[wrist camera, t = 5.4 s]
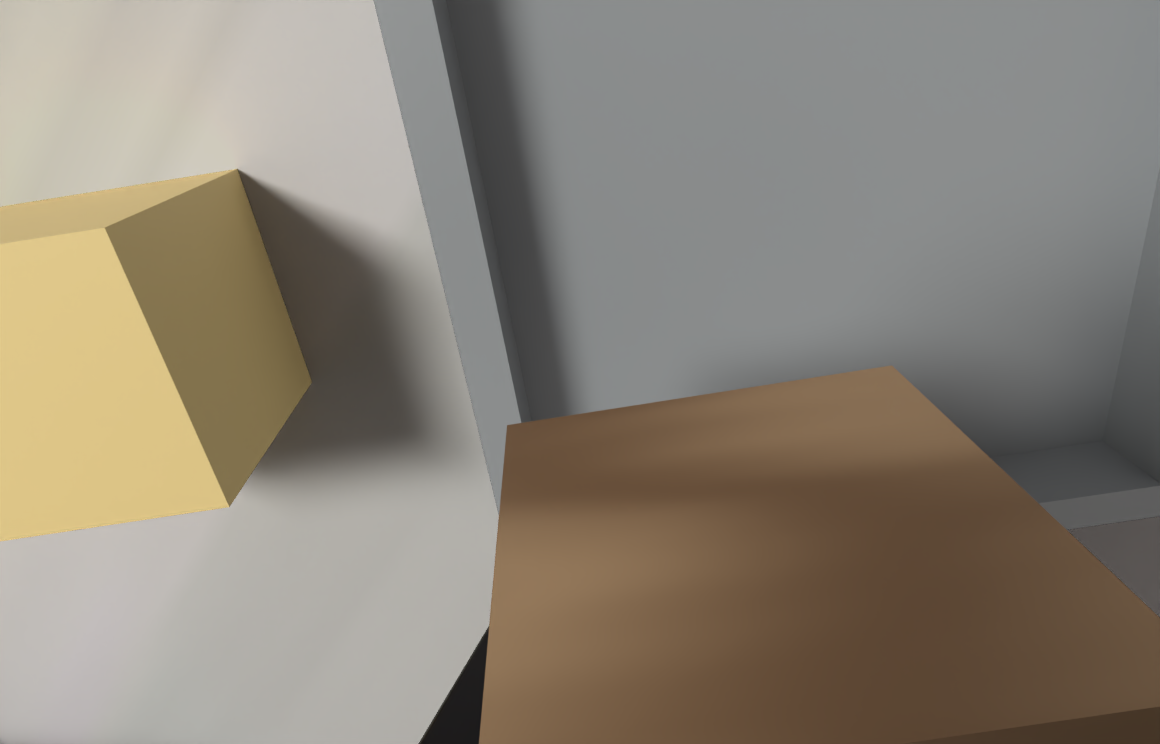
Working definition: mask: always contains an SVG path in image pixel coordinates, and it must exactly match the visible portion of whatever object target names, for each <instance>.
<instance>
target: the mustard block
mask: <svg viewBox="0 0 1160 744" xmlns="http://www.w3.org/2000/svg"><path fill="white" fill-rule="evenodd" d="M311 383H312V381H311V378H310V375H309V372H308V369H307V367H306V364H305V361H304V358H303V355H302V352H301V349H300V347H299V344H298V341H297V338H296V335H295V332H294V329H293V327H292V324H291V321H290V318H289V315H288V312H287V309H286V307H285V304H284V301H283V298H282V295H281V292H280V289H279V287H278V284H277V281H276V278H275V275H274V272H273V269H272V267H271V264H270V261H269V258H268V255H267V252H266V249H265V247H264V244H263V241H262V238H261V235H260V232H259V229H258V227H257V224H256V221H255V218H254V215H253V212H252V209H251V207H250V204H249V201H248V198H247V195H246V192H245V189H244V187H243V184H242V181H241V178H240V175H239V172H238V169H234V170H228V171H222V172H215V173H209V174H203V175H196V176H190V177H184V178H178V179H171V180H165V181H159V182H152V183H146V184H140V185H134V186H127V187H121V188H115V189H109V190H102V191H96V192H90V193H83V194H77V195H71V196H65V197H58V198H52V199H46V200H40V201H33V202H27V203H21V204H14V205H8V206H2V207H0V541H6V540H12V539H19V538H26V537H32V536H39V535H46V534H52V533H59V532H66V531H73V530H79V529H86V528H93V527H99V526H106V525H113V524H119V523H126V522H133V521H139V520H146V519H153V518H159V517H166V516H173V515H179V514H186V513H193V512H199V511H206V510H213V509H219V508H226V507H230V505H231V504H232V502H233V501H234V499H235V498H236V496H237V495H238V493H239V492H240V490H241V489H242V487H243V486H244V484H245V483H246V481H247V480H248V478H249V477H250V475H251V473H252V472H253V470H254V469H255V467H256V466H257V464H258V463H259V461H260V460H261V458H262V457H263V455H264V454H265V452H266V451H267V449H268V448H269V446H270V445H271V443H272V442H273V440H274V439H275V437H276V436H277V434H278V433H279V431H280V430H281V428H282V427H283V425H284V424H285V422H286V421H287V419H288V418H289V416H290V415H291V413H292V412H293V410H294V409H295V407H296V406H297V404H298V403H299V401H300V400H301V398H302V397H303V395H304V394H305V392H306V391H307V389H308V387H309V386H310V384H311Z"/></svg>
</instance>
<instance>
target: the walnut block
mask: <svg viewBox="0 0 1160 744" xmlns="http://www.w3.org/2000/svg"><path fill="white" fill-rule="evenodd" d="M479 744H1160V617H1159V616H1157V615H1156V614H1155V613H1154V612H1153V611H1152V610H1151V609H1150V608H1149V607H1148V606H1147V605H1146V604H1145V603H1144V602H1143V601H1142V600H1141V599H1139V598H1138V597H1137V596H1136V595H1135V594H1134V593H1133V592H1132V591H1131V590H1130V589H1129V588H1128V587H1127V586H1126V585H1125V584H1124V583H1122V582H1121V581H1120V580H1119V579H1118V578H1117V577H1116V576H1115V575H1114V574H1113V573H1112V572H1111V571H1110V570H1109V569H1108V568H1107V567H1105V566H1104V565H1103V564H1102V563H1101V562H1100V561H1099V560H1098V559H1097V558H1096V557H1095V556H1094V555H1093V554H1092V553H1091V552H1090V551H1088V550H1087V549H1086V548H1085V547H1084V546H1083V545H1082V544H1081V543H1080V542H1079V541H1078V540H1077V539H1076V538H1075V537H1074V536H1073V535H1072V534H1070V533H1069V532H1068V531H1067V530H1066V529H1065V528H1064V527H1063V526H1062V525H1061V524H1060V523H1059V522H1058V521H1057V520H1056V519H1055V518H1053V517H1052V516H1051V515H1050V514H1049V513H1048V512H1047V511H1046V510H1045V509H1044V508H1043V507H1042V506H1041V505H1040V504H1039V503H1038V502H1036V501H1035V500H1034V499H1033V498H1032V497H1031V496H1030V495H1029V494H1028V493H1027V492H1026V491H1025V490H1024V489H1023V488H1022V487H1021V486H1019V485H1018V484H1017V483H1016V482H1015V481H1014V480H1013V479H1012V478H1011V477H1010V476H1009V475H1008V474H1007V473H1006V472H1005V471H1004V470H1003V469H1001V468H1000V467H999V466H998V465H997V464H996V463H995V462H994V461H993V460H992V459H991V458H990V457H989V456H988V455H987V454H986V453H984V452H983V451H982V450H981V449H980V448H979V447H978V446H977V445H976V444H975V443H974V442H973V441H972V440H971V439H970V438H969V437H967V436H966V435H965V434H964V433H963V432H962V431H961V430H960V429H959V428H958V427H957V426H956V425H955V424H954V423H953V422H952V421H951V420H949V419H948V418H947V417H946V416H945V415H944V414H943V413H942V412H941V411H940V410H939V409H938V408H937V407H936V406H935V405H934V404H932V403H931V402H930V401H929V400H928V399H927V398H926V397H925V396H924V395H923V394H922V393H921V392H920V391H919V390H918V389H917V388H915V387H914V386H913V385H912V384H911V383H910V382H909V381H908V380H907V379H906V378H905V377H904V376H903V375H902V374H901V373H900V372H898V371H897V370H896V369H895V368H894V367H893V366H892V365H891V366H885V367H878V368H872V369H865V370H859V371H853V372H846V373H840V374H833V375H827V376H820V377H814V378H807V379H801V380H795V381H788V382H782V383H775V384H769V385H762V386H756V387H749V388H743V389H737V390H730V391H724V392H717V393H711V394H704V395H698V396H691V397H685V398H679V399H672V400H666V401H659V402H653V403H646V404H640V405H633V406H627V407H621V408H614V409H608V410H601V411H595V412H588V413H582V414H575V415H569V416H562V417H556V418H550V419H543V420H537V421H530V422H524V423H517V424H511V425H507V431H506V442H505V454H504V465H503V476H502V488H501V499H500V510H499V522H498V533H497V544H496V556H495V567H494V578H493V590H492V601H491V612H490V624H489V635H488V646H487V658H486V669H485V680H484V692H483V703H482V714H481V726H480V737H479Z"/></svg>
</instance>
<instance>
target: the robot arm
mask: <svg viewBox="0 0 1160 744" xmlns="http://www.w3.org/2000/svg"><path fill="white" fill-rule="evenodd" d="M488 635H489V627H488V628H487V630H486V632H485V634H484V635H483V637H482V639H481V640H480V642H479V644H478V645H477V647H476V649H475V650H474V652H473V654H472V655H471V657H470V659H469V660H468V662H467V664H466V665H465V667H464V669H463V670H462V672H461V674H460V675H459V677H458V679H457V680H456V682H455V684H454V685H453V687H452V689H451V690H450V692H449V694H448V695H447V697H446V699H445V700H444V702H443V704H442V705H441V707H440V709H439V710H438V712H437V714H436V715H435V717H434V719H433V720H432V722H431V724H430V725H429V727H428V729H427V730H426V732H425V734H424V735H423V737H422V739H421V741H420V742H419V744H479V737H480V726H481V714H482V703H483V692H484V680H485V669H486V658H487V646H488Z"/></svg>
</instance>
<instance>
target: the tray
mask: <svg viewBox="0 0 1160 744" xmlns="http://www.w3.org/2000/svg"><path fill="white" fill-rule="evenodd" d="M374 4H375V8H376V12H377V16H378V20H379V25H380V29H381V33H382V37H383V41H384V45H385V49H386V53H387V57H388V62H389V66H390V70H391V74H392V78H393V82H394V86H395V90H396V94H397V99H398V103H399V107H400V111H401V115H402V119H403V123H404V127H405V131H406V136H407V140H408V144H409V148H410V152H411V156H412V160H413V164H414V168H415V173H416V177H417V181H418V185H419V189H420V193H421V197H422V201H423V205H424V210H425V214H426V218H427V222H428V226H429V230H430V234H431V238H432V242H433V247H434V251H435V255H436V259H437V263H438V267H439V271H440V275H441V279H442V284H443V288H444V292H445V296H446V300H447V304H448V308H449V312H450V316H451V321H452V325H453V329H454V333H455V337H456V341H457V345H458V349H459V353H460V358H461V362H462V366H463V370H464V374H465V378H466V382H467V386H468V390H469V395H470V399H471V403H472V407H473V411H474V415H475V419H476V423H477V427H478V432H479V436H480V440H481V444H482V448H483V452H484V456H485V460H486V464H487V469H488V473H489V477H490V481H491V485H492V489H493V493H494V497H495V501H496V506H497V510H498V514H499V510H500V499H501V488H502V476H503V465H504V454H505V442H506V431H507V425H511V424H517V423H524V422H530V421H537V420H543V419H550V418H556V417H562V416H569V415H575V414H582V413H588V412H595V411H601V410H608V409H614V408H621V407H627V406H633V405H640V404H646V403H653V402H659V401H666V400H672V399H679V398H685V397H691V396H698V395H704V394H711V393H717V392H724V391H730V390H737V389H743V388H749V387H756V386H762V385H769V384H775V383H782V382H788V381H795V380H801V379H807V378H814V377H820V376H827V375H833V374H840V373H846V372H853V371H859V370H865V369H872V368H878V367H885V366H891V365H892V366H893V367H894V368H895V369H896V370H897V371H898V372H900V373H901V374H902V375H903V376H904V377H905V378H906V379H907V380H908V381H909V382H910V383H911V384H912V385H913V386H914V387H915V388H917V389H918V390H919V391H920V392H921V393H922V394H923V395H924V396H925V397H926V398H927V399H928V400H929V401H930V402H931V403H932V404H934V405H935V406H936V407H937V408H938V409H939V410H940V411H941V412H942V413H943V414H944V415H945V416H946V417H947V418H948V419H949V420H951V421H952V422H953V423H954V424H955V425H956V426H957V427H958V428H959V429H960V430H961V431H962V432H963V433H964V434H965V435H966V436H967V437H969V438H970V439H971V440H972V441H973V442H974V443H975V444H976V445H977V446H978V447H979V448H980V449H981V450H982V451H983V452H984V453H986V454H987V455H988V456H989V457H990V458H991V459H992V460H993V461H994V462H995V463H996V464H997V465H998V466H999V467H1000V468H1001V469H1003V470H1004V471H1005V472H1006V473H1007V474H1008V475H1009V476H1010V477H1011V478H1012V479H1013V480H1014V481H1015V482H1016V483H1017V484H1018V485H1019V486H1021V487H1022V488H1023V489H1024V490H1025V491H1026V492H1027V493H1028V494H1029V495H1030V496H1031V497H1032V498H1033V499H1034V500H1035V501H1036V502H1038V503H1039V504H1040V505H1041V506H1042V507H1043V508H1044V509H1045V510H1046V511H1047V512H1048V513H1049V514H1050V515H1051V516H1052V517H1053V518H1055V519H1056V520H1057V521H1058V522H1059V523H1060V524H1061V525H1062V526H1063V527H1064V528H1065V529H1066V530H1070V529H1077V528H1083V527H1090V526H1097V525H1104V524H1111V523H1118V522H1125V521H1131V520H1138V519H1145V518H1152V517H1159V516H1160V0H374Z"/></svg>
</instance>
